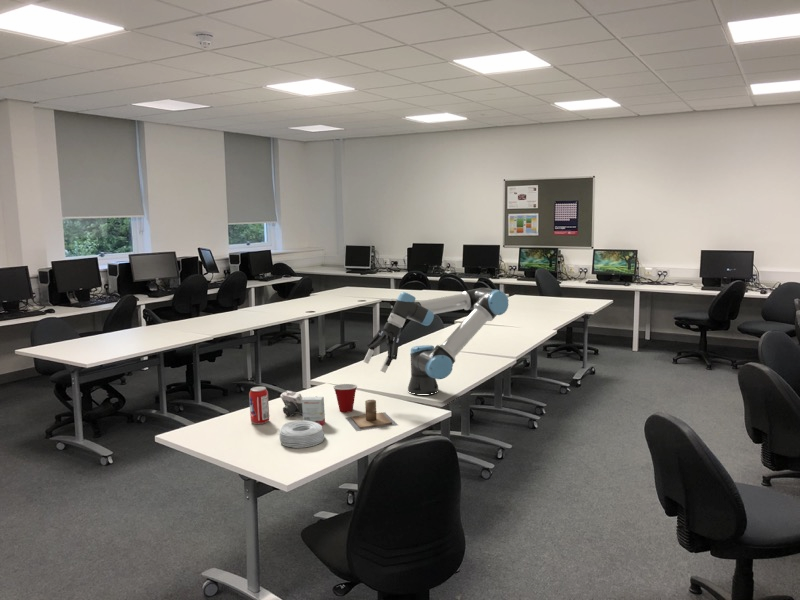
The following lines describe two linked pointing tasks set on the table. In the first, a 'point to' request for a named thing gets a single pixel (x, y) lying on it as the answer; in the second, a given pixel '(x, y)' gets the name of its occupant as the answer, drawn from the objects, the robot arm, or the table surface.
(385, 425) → the mat
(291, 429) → the cable
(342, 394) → the plastic cup
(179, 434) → the table surface
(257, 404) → the soda can
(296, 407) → the camera
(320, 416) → the ink box
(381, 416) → the lid
